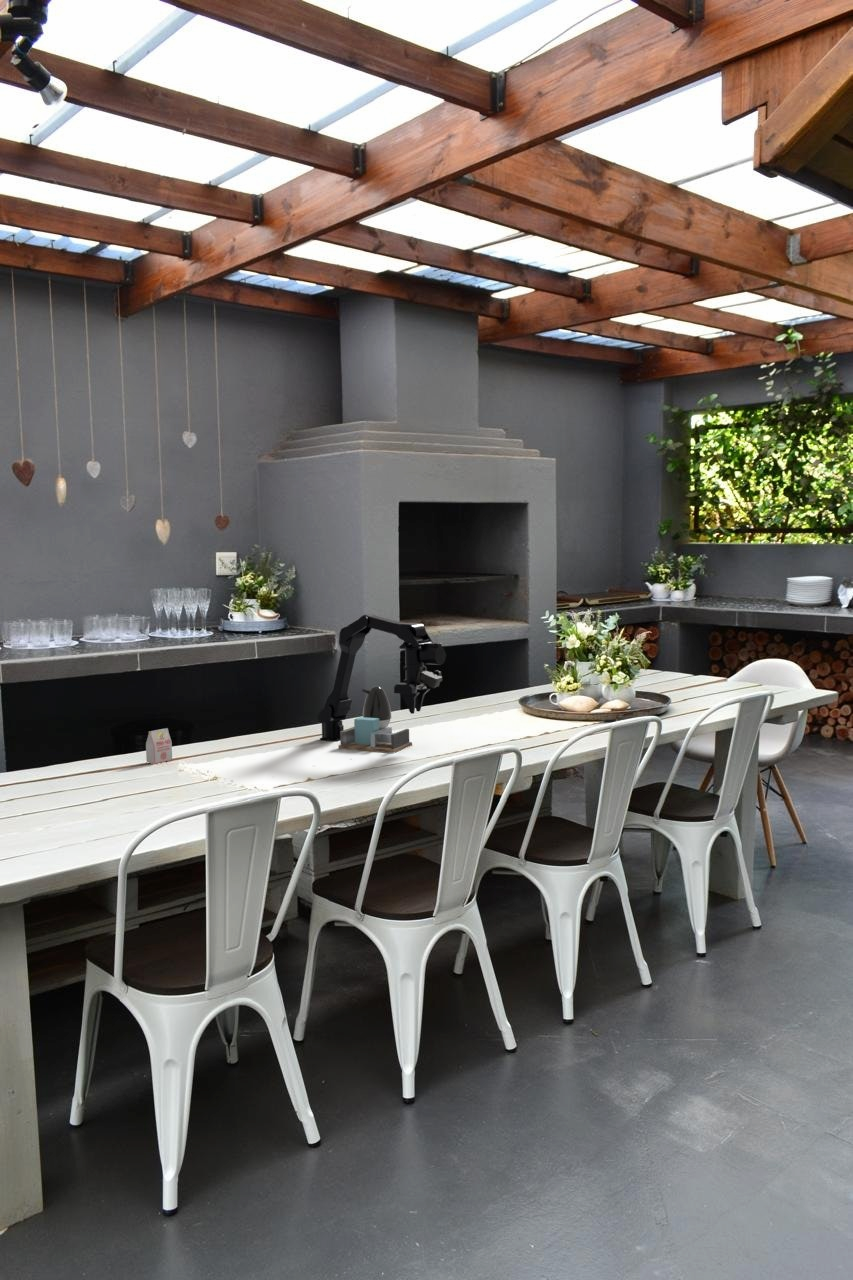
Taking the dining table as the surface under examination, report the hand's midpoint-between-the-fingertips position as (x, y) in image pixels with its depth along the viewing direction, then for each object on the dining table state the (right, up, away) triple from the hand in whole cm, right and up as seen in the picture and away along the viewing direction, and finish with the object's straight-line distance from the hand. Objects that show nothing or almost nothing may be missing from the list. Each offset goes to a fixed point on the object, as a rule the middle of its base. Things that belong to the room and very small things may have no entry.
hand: (415, 712), depth 320 cm
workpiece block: (-16, -11, +8) cm, 21 cm away
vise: (-13, -12, +7) cm, 19 cm away
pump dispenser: (-14, -9, +41) cm, 44 cm away
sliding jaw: (-8, -11, +5) cm, 14 cm away
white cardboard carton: (-78, -15, -10) cm, 80 cm away
